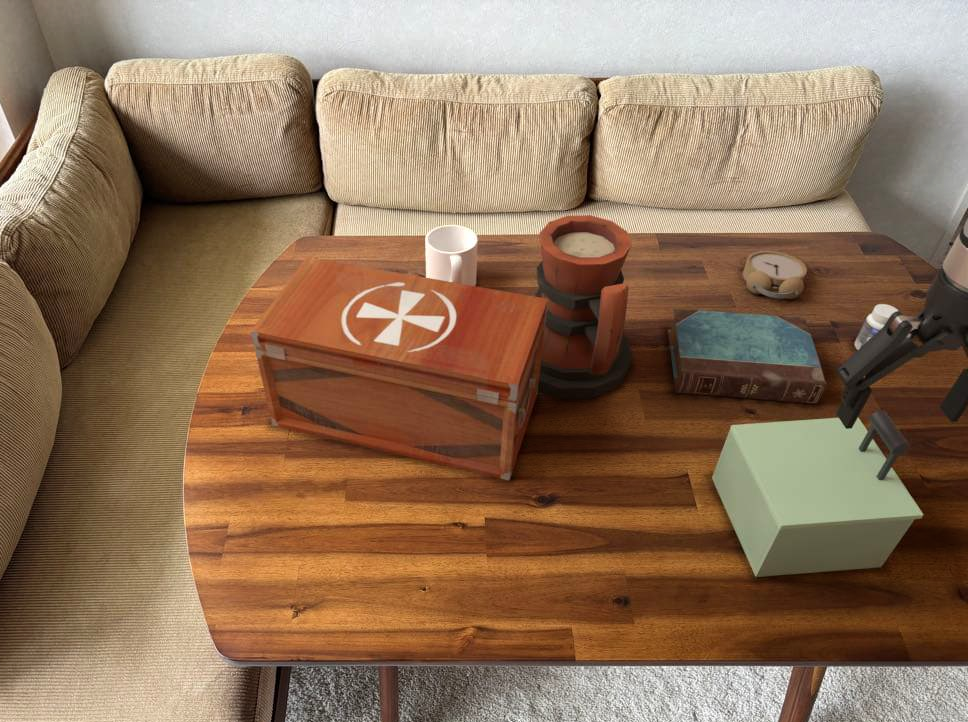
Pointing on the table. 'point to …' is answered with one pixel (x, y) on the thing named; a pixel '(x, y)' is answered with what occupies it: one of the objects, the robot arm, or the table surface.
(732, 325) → the book
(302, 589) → the table surface
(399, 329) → the wooden box
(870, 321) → the pill bottle
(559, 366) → the tankard
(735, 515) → the chest
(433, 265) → the mug
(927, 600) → the table surface
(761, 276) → the alarm clock
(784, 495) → the lid
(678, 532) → the table surface
